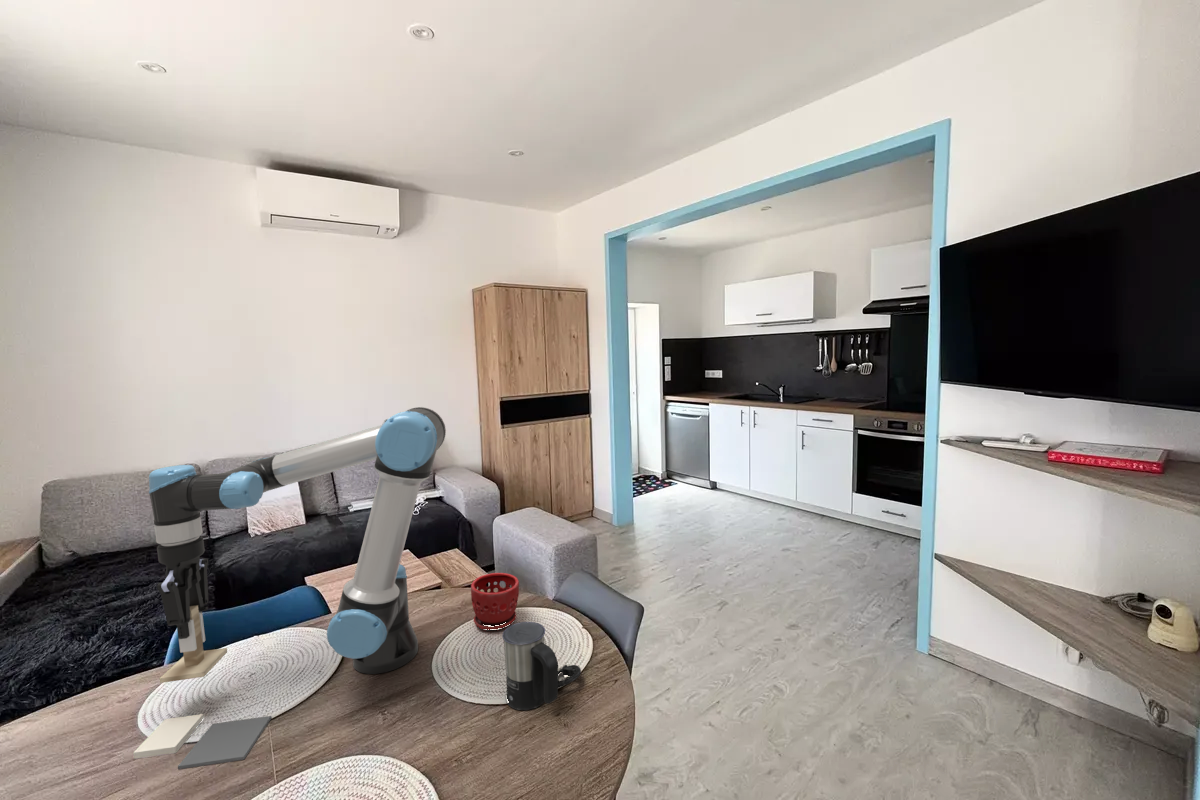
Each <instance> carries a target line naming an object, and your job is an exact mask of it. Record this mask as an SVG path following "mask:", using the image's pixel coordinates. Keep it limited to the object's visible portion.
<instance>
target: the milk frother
mask: <svg viewBox="0 0 1200 800" xmlns="http://www.w3.org/2000/svg"><path fill="white" fill-rule="evenodd" d="M545 634H546V628H545V627H544V626H543V625H542V623H539V622H535V621H522V622H517V623H514V624H511V625H510V626H508V627H507V628H505V629H504V630H503V632H502V635H501V637H502V639H503V644H504V645H503V646H504V648H503V649H504V661H505V662H504V664H505V675H506V677H505V678H506V695H507V699H508V701H509V703H508V704H507V706H509V707H510V708H512V709H514V710H518V711H529V710H532V709H536V708H538V707H539V706H541V705H543V704H544V703H545V704H552V702H554V701H555V700H557V698H558V696H559V693H558V692H559V689H560V688H562V687H565V686H566V685H570V683H572V682H574V681H575V680H577V678H579V676H580V675H581V674H582V670H581V667H580V666H579V665H577V664H576V665H575V664H571V665H568V664H564V665H563V666H562V667H559V662H558V658H557V655H556V654H555V652H554V650H553V649H552V648H551V647H550V646H549V645H548V644H546V643H545ZM560 672H562V673H561V674H562V676H563V675H568V676H570V677H567V678H566V679H565V678H564V679H562V680H559V676H558V674H559V673H560Z"/></svg>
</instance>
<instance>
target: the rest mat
mask: <svg viewBox="0 0 1200 800" xmlns="http://www.w3.org/2000/svg"><path fill="white" fill-rule="evenodd" d="M271 720H272V715H267V716H261V717H260V716H259V717H258V716H257V717H252V718H245V719H238V720H230V721H223V722H217V723H216V722H215V723H212V724H211V725H210V726H209V727H208V728H207V730H206V731H205V732H204V733H203V735H202V736H201V737H200V739H199V740H198V741H197V742H196V743H195V745H194V746H193V747H192V748H191V750H190V751H189V752H188V753H187V754H186V755H185V757H184V758H183V759H182V761H180V762H179V765H177V769H178V770H183V769H189V768H197V767H202V766H203V767H204V766H210V765H216V764H217V765H218V764H222V763H223V764H224V763H229V762H236V761H237V762H239V761H243V760H245V759H246V757H247V756H248V755H249V753H250V752H251V750H252V748H253V747H254V746H255V745H256V743H257V741H258V740H259V738H260V736H261V735H262V733H263V731H264V730H265V729H266V727H267V726H268V725H269V723H270V721H271Z"/></svg>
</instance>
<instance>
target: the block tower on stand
mask: <svg viewBox="0 0 1200 800" xmlns="http://www.w3.org/2000/svg"><path fill="white" fill-rule="evenodd" d="M192 619H193V620H194V629H195V637H196V645H197V649H196V650H195V651H189V652H182V653H183V656H182V657H181V658H180V659H179V660H178V661H176V662H175V663H174V665H172V666H171V667H170V668H169V669H168V670H167V671H165V673H164V674H163V675H161V676H160V677H159V683H160V684H163V683H170V682H176V681H177V682H178V681H184V680H190V679H191V680H192V679H197V678H198V679H199V678H204V677H205V676H207V674H208V673H210V671H211V670H212V669H213V668H214V667H215V666H216V665H217V664H218V663H219V662H220V661H221V660H222V659H223V657H225V655H227V653H228V647H224V648H218V649H217V648H216V649H207V650H204V644H203V643H204V642H203V643H202V635H201V626H200V618H199V610H198V605H197V606H190V620H192Z"/></svg>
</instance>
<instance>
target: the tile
mask: <svg viewBox="0 0 1200 800" xmlns="http://www.w3.org/2000/svg"><path fill="white" fill-rule="evenodd" d="M203 718H204V714H203V713H201V714H194V715H193V714H192V715H187V716H186V715H185V716H178V717H171V718H165V719H164V720H163V721H162V722H160V724H159V725H158V726H157V727H156V728H155V729H154V730H153V732H152V733H151V734H150V735H148V737H147V738H146V739H145V740H144V741H143V742H142V743H140V745H139V746H138V747H137V749H135V750H134V751H133V752H132V753H133V760H137V759H138V760H139V759H143V758H144V759H145V758H150V757H158V756H165V755H173V754H177V752H178V751H179V750H180V749H181V747H182V746H183V745H184V744H185V743H186V742H187V741H188V740H189V738H190V737H191V736H192V735H193V733H194V732H195V731H196V730H197V729H196V727H197V726H198V725H199V723H200V722H201V721H202V719H203ZM199 726H200V725H199ZM199 726H198V727H199ZM198 727H197V728H198ZM195 729H196V730H195ZM194 730H195V731H194ZM193 731H194V732H193ZM191 734H192V735H191ZM190 735H191V736H190Z"/></svg>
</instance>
